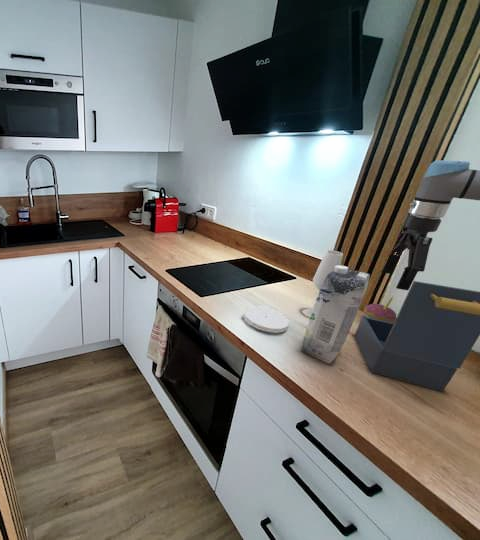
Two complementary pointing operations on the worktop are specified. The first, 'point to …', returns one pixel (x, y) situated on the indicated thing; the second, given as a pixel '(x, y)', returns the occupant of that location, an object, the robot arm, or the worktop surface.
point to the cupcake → (380, 312)
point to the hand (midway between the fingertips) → (393, 280)
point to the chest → (398, 358)
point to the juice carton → (334, 312)
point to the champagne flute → (324, 272)
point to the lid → (436, 324)
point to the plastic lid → (266, 319)
